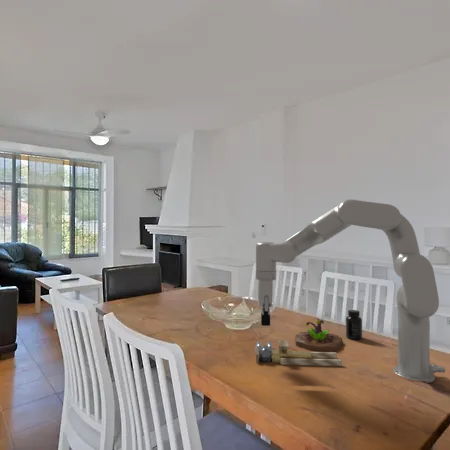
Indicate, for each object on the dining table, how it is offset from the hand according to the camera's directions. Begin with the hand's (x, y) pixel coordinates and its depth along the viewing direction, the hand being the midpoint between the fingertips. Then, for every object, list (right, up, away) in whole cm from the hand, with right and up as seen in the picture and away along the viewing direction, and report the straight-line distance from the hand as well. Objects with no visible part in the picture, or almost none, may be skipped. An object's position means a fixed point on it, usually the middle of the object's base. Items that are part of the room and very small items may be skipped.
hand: (265, 324), depth 132 cm
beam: (+12, -13, -1) cm, 18 cm away
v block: (+1, -13, +9) cm, 16 cm away
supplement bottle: (+43, -14, +26) cm, 52 cm away
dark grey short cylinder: (-1, -9, 0) cm, 9 cm away
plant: (+25, -14, +19) cm, 34 cm away
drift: (+9, -14, -1) cm, 17 cm away
